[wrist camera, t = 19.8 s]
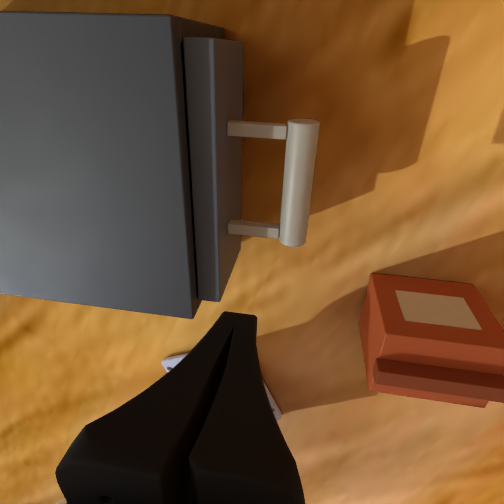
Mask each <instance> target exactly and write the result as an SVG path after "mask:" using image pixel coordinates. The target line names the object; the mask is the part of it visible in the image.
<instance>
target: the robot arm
mask: <svg viewBox="0 0 504 504" xmlns="http://www.w3.org/2000/svg"><path fill="white" fill-rule="evenodd" d="M256 334H257V317H256V316H255V315H249V314H241V313H234V312H226V311H225V312H223V313H222V314H221V316H220V317H219V318H218V320H217V321H216V322H215V324H214V325H213V326H212V327H211V329H210V330H209V331H208V332H207V334H206V335H205V336H204V337H203V338H202V339H201V340H200V341H199V343H198V344H197V345H196V346H195V347H194V348H193V349H192V350H191V351H190V352H189V353H186V354H182V355H177V356H172V357H167V358H164V359H163V361H162V365H163V367H164V368H165V369H166V371H167V372H168V373H167V374H165V375H164V376H163V377H162V378H160V379H159V380H158V381H157V382H155V383H154V384H153V385H151V386H150V387H149V388H147V389H146V390H145V391H143V392H142V393H140V394H139V395H137V396H136V397H134V398H133V399H131V400H130V401H128V402H126V403H125V404H123V405H122V406H120V407H119V408H117V409H115V410H114V411H112V412H110V413H108V414H106V415H104V416H103V417H101V418H99V419H97V420H95V421H93V422H91V423H89V424H87V425H85V427H84V428H83V429H82V431H81V432H80V433H79V435H78V436H77V437H76V439H75V440H74V441H73V443H72V444H71V446H70V447H69V449H68V451H67V452H66V454H65V455H64V457H63V459H62V460H61V462H60V463H59V465H58V467H57V469H56V472H55V474H56V478H57V482H58V484H59V486H60V489H61V491H62V493H63V495H64V497H65V499H66V501H67V503H66V504H305V499H304V493H303V489H302V484H301V480H300V476H299V473H298V469H297V465H296V461H295V459H294V458H293V456H292V454H291V452H290V450H289V448H288V446H287V444H286V442H285V439H284V437H283V435H282V433H281V431H280V428H279V426H278V423H277V421H276V420H279V419H281V415H282V414H281V411H280V410H279V408H278V406H277V404H276V402H275V401H274V399H273V397H272V395H271V393H270V392H269V390H268V388H267V386H266V384H265V383H264V381H263V379H262V375H261V370H260V366H259V360H258V354H257V347H256Z"/></svg>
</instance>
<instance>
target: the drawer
mask: <svg viewBox="0 0 504 504" xmlns="http://www.w3.org/2000/svg"><path fill="white" fill-rule="evenodd" d="M183 50H184V56H181V58H182V73H183V89H184V105H185V121H186V137H187V152H188V168H189V184H190V200H191V216H192V231H193V247H194V251H195V250H196V266H197V283H198V299H199V300H206V301H214V302H220V301H221V298H222V295H223V293H224V290H225V288H226V285H227V283H228V280H229V277H230V275H231V272H232V270H233V267H234V264H235V262H236V259H237V257H238V254H239V252H240V247H241V235H246V236H256V237H266V238H276V239H278V238H279V241H280V243H281V244H283V245H285V246H288V247H300V246H302V245H304V244H305V242H306V234H307V226H308V218H309V210H310V201H311V193H312V185H313V177H314V168H315V160H316V152H317V144H318V135H319V127H320V122H319V121H317V120H313V119H305V118H295V119H290V120H289V121H288V124H286V123H269V122H252V121H242V109H243V42H240V41H233V40H225V39H218V38H203V37H184V38H183ZM242 137H254V138H269V139H286V138H287V140H286V153H285V166H284V179H283V192H282V205H281V218H280V224H273V223H262V222H252V221H241V178H242Z"/></svg>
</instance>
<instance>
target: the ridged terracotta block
mask: <svg viewBox="0 0 504 504" xmlns="http://www.w3.org/2000/svg"><path fill="white" fill-rule="evenodd" d="M359 329H360V336H361V342H362V349H363V355H364V362H365V368H366V375H367V381H368V388H369V391H374V392H381V393H388V394H394V395H401V396H408V397H414V398H421V399H428V400H435V401H441V402H448V403H455V404H461V405H468V406H475V407H481V408H485V406H486V405H487V403H488V401H495V402H502V403H504V330H503V329H502V327H501V326H500V324H499V323H498V321H497V320H496V318H495V317H494V315H493V314H492V312H491V311H490V309H489V308H488V306H487V305H486V304H485V302H484V301H483V299H482V298H481V296H480V295H479V293H478V292H477V290H476V289H475V287H474V286H473V284H468V283H459V282H449V281H440V280H431V279H422V278H413V277H403V276H394V275H385V274H376V273H371V274H370V279H369V283H368V287H367V291H366V295H365V300H364V304H363V308H362V312H361V316H360V320H359Z"/></svg>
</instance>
